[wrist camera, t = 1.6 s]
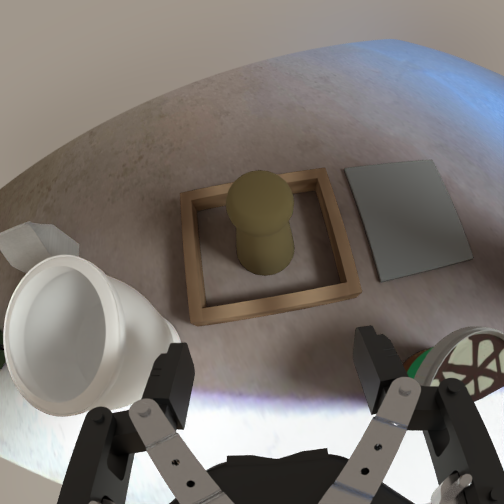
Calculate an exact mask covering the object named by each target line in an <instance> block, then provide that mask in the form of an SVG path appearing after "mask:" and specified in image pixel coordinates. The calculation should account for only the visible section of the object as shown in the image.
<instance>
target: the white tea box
mask: <svg viewBox="0 0 504 504" xmlns="http://www.w3.org/2000/svg"><path fill="white" fill-rule="evenodd" d="M0 250H1V252H2V253H3V255H4V256H5V258H6V259H7V260H8V262H9V263H10V265H11V266H13V267H14V268H16V269H18V270H20V271H22V272H24V273H26V274H27V273H28V272H29V271H30V270H31V269H32V268H33V267H34V266H35V265H37V264H38V263H40V262H41V261H43V260H45V259H47V258H50V257H53V256H57V255H74V256H78V257H79V244H78V243H77V242H76V241H74V240H73V239H72V238H70V237H69V236H68V235H66V234H65V233H64V232H62V231H61V230H60V229H58V228H57V227H56V226H54V225H53V224H37V223H32V222H30V221H28V222H25V223H23V224H20V225H18V226H15V227H13V228H10V229H8V230H6V231H3V232H1V233H0Z"/></svg>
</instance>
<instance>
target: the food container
mask: <svg viewBox="0 0 504 504" xmlns="http://www.w3.org/2000/svg"><path fill="white" fill-rule="evenodd" d="M403 366H404V368H405V370H406V372H407V374H408V376H409V377H410V378H413V379H415V380H416V381H417V382H418V383H419V384H420V385H421V386H439V384H440V383H441V381H443V380H444V379H447V378H456V379H459V380H461V381H462V382H463V383H464V384H465V386H466V388H467V390H468V392H469V394H470V396H471V398H472V400H473V402H475V401H477V400H479V399H481V398H483V397H485V396H487V395H489V394H491V393H492V392H494V391H496V390H498V389H500V388H502V387H504V333H502V332H500V331H498V330H496V329H493V328H488V327H466V328H461V329H459V330H457V331H454V332H452V333H451V334H449V335H447V336H446V337H444V338H443V339H442V340H441V341H440V342H439V343H437V344H436V345H435V346H434V347H432V348H429V349H426V350H423V351H420V352H418V353H416V354H414V355H413V356H411V357H410V358H409V359H407V360H406V361H405V362H404V363H403Z"/></svg>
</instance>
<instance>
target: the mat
mask: <svg viewBox="0 0 504 504" xmlns="http://www.w3.org/2000/svg"><path fill="white" fill-rule="evenodd" d="M344 171H345V174H346V177H347V179H348V182H349V185H350V187H351V190H352V193H353V196H354V199H355V202H356V204H357V207H358V210H359V213H360V216H361V219H362V222H363V225H364V229H365V232H366V235H367V238H368V241H369V245H370V248H371V251H372V255H373V258H374V262H375V265H376V269H377V272H378V276H379V280H380V282H384V281H388V280H393V279H397V278H401V277H405V276H409V275H413V274H417V273H421V272H425V271H429V270H433V269H437V268H441V267H445V266H448V265H452V264H456V263H459V262H463V261H467V260H470V259H473V258H474V257H473V254H472V252H471V249H470V246H469V243H468V240H467V237H466V235H465V232H464V229H463V227H462V224H461V222H460V219H459V217H458V214H457V212H456V209H455V207H454V205H453V202H452V200H451V198H450V196H449V193H448V191H447V189H446V187H445V185H444V183H443V180H442V178H441V176H440V174H439V172H438V170H437V168H436V166H435V164H434V162H433V160H420V161H408V162H397V163H387V164H377V165H368V166H359V167H351V168H345V169H344Z"/></svg>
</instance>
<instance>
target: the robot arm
mask: <svg viewBox="0 0 504 504" xmlns="http://www.w3.org/2000/svg"><path fill="white" fill-rule="evenodd" d="M353 360H354V364H355V367H356V370H357V373H358V376H359V379H360V382H361V385H362V388H363V391H364V394H365V397H366V400H367V403H368V406H369V409H370V412H371V415H373V414H376V416H375V417H373V419H372V420H371V422H370V424H369V426H368V428H367V430H366V431H365V433H364V435H363V437H362V439H361V440H360V442H359V444H358V445H357V447H356V449H355V451H354V452H353V454H352V456H351V457H350V459H347V458H345V457H342V456H338V455H332V454H328V451H327V448H324V449H317V450H309V451H302V452H299V453H296V454H293V455H290V456H286V457H283V458H280V459H272V458H266V457H259V456H253V455H241V456H227V462H224V463H221V464H218V465H215V466H213V467H211V468H209V469H208V470H205V469H204V468H203V467H202V465H201V464H200V463H199V461H198V460H197V459H196V457H195V456H194V455H193V453H192V452H191V451H190V449H189V448H188V447H187V445H186V444H185V442H184V441H183V440H182V438H181V437H180V435H179V434H178V433H176V429H182V430H184V427H185V422H186V417H187V411H188V406H189V401H190V396H191V391H192V386H193V381H194V376H195V370H194V364H193V361H192V358H191V355H190V352H189V348H188V345H187V343H170V345H169V348H168V351H167V353H161V354H160V355H159V356H158V357H157V359H156V360H155V361H154V364H153V367H152V370H151V372H150V376H149V378H148V381H147V384H146V387H145V390H144V392H143V395H142V398H141V400H138V401H136V402H135V403H133V404H132V406H131V407H130V409H129V410H127V411H122V412H116V413H112V412H111V411H110V410H109V409H108V408H106V407H102V406H100V407H95V408H93V409H92V410H90V411H89V412H88V413H87V415H86V417H85V420H84V422H83V425H82V428H81V431H80V433H79V436H78V439H77V442H76V445H75V447H74V450H73V453H72V456H71V459H70V462H69V465H68V469H67V472H66V475H65V478H64V481H63V485H62V488H61V491H60V495H59V498H58V502H57V504H125V500H126V495H127V489H128V484H129V479H130V473H131V468H132V463H133V459H134V454H135V453H138V452H143V451H147V452H148V454H149V456H150V457H151V459H152V461H153V463H154V464H155V466H156V468H157V469H158V471H159V472H160V474H161V476H162V477H163V479H164V480H165V482H166V484H167V485H168V487H169V488H170V490H171V491H172V493H173V494H174V496H175V497H176V498H175V499H174V500H173V501H172V502H171V503H169V504H414V503H413V502H411V501H410V500H408V499H407V498H405V497H403V496H402V495H400V494H399V493H397V492H396V491H394V490H393V489H391V488H390V487H388V486H387V485H386V484H384V483H383V482H382V481H383V479H384V477H385V475H386V473H387V471H388V470H389V468H390V465H391V463H392V461H393V459H394V457H395V455H396V453H397V451H398V449H399V446H400V444H401V442H402V440H403V437H404V435H405V433H406V430H423V433H424V436H425V440H426V443H427V446H428V449H429V452H430V456H431V459H432V462H433V466H434V469H435V473H436V476H437V480H438V484H439V486H438V488H437V489H436V490H435V491H434V492H433V494H432V497H431V504H504V470H503V468H502V465H501V463H500V460H499V458H498V455H497V453H496V450H495V448H494V445H493V443H492V441H491V438H490V436H489V434H488V431H487V429H486V427H485V425H484V423H483V420H482V418H481V416H480V414H479V412H478V410H477V408H476V406H475V404H474V402H473V400H472V398H471V396H470V394H469V392H468V390H467V388H466V386H465V384H464V383H463V382H462V381H461V380H459V379H456V378H447V379H444V380H443V381H441V383H440V384H439V386H421V385H420V384H419V383H418V382H417V381H416V380H415V379H413V378H410V377H409V376H408V374H407V372H406V370H405V368H404V366H403V364H402V362H401V360H400V358H399V356H398V355H397V352H396V350H395V349H394V346H393V344H392V343H391V341H390V340H389V339H388V338H387V337H386V336H385V335H383V334H381V335H377V334H376V332H375V330H374V328H373V327H372V326H364V327H358V328H356V330H355V339H354V348H353Z"/></svg>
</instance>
